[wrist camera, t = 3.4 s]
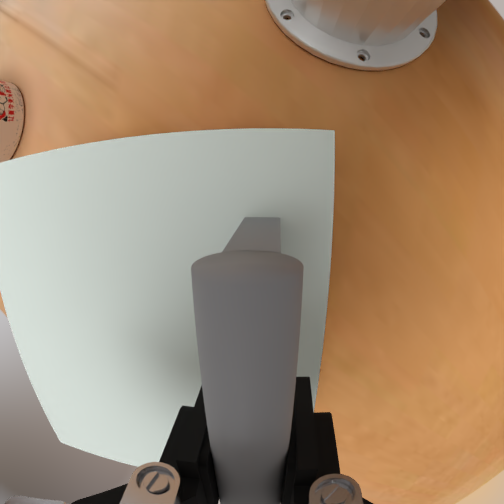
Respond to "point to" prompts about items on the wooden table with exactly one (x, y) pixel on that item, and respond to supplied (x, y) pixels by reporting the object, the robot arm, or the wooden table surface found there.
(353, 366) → the wooden table surface
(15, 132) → the teacup with lid
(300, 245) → the carton lid
